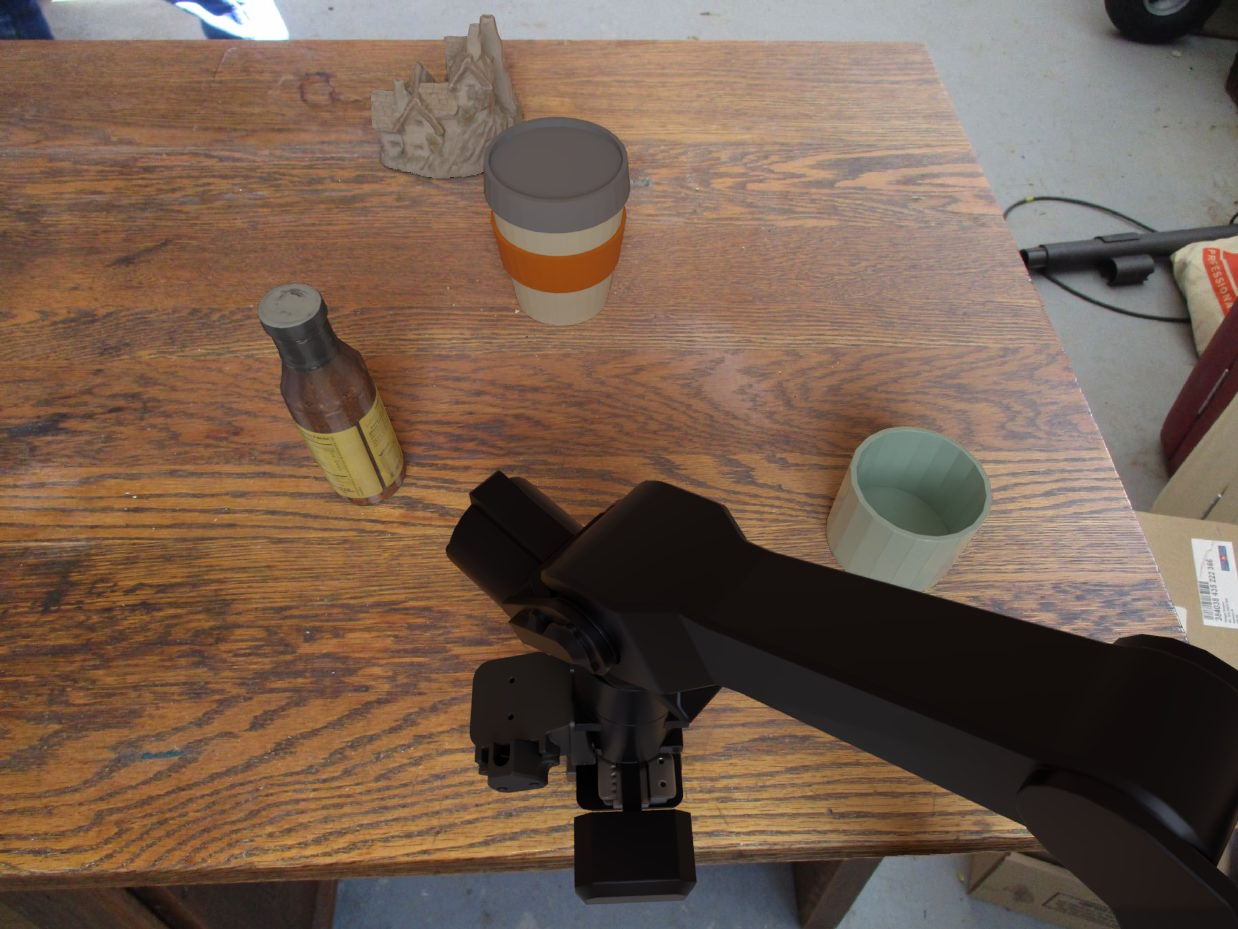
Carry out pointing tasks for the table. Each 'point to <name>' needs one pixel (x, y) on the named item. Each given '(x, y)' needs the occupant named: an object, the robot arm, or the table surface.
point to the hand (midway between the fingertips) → (623, 760)
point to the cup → (907, 507)
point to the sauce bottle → (332, 397)
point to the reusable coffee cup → (558, 213)
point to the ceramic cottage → (448, 108)
